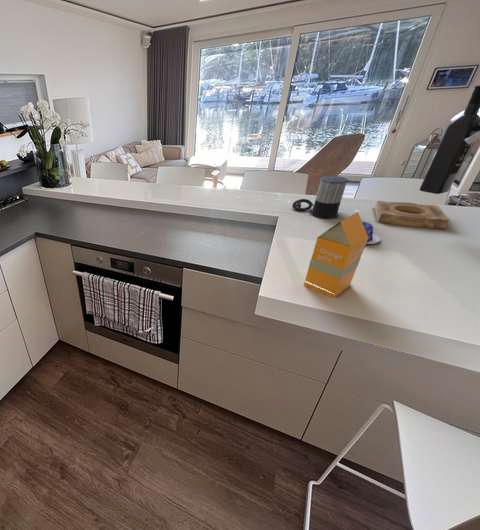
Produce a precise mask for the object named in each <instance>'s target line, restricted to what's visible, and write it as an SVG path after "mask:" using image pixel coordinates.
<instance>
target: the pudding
mask: <svg viewBox="0 0 480 530" xmlns="http://www.w3.org/2000/svg"><path fill="white" fill-rule="evenodd" d="M362 223H363V226H364V228H365V230H366V233H367V235H368V240H367V243H366V245H371V244H372V245H373V244H377V243H380V241H381V238H380V236H378V235H377V234H375V233H374V226H373V224H371V223H370V222H366V221H362Z"/></svg>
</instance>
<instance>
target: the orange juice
mask: <svg viewBox="0 0 480 530" xmlns="http://www.w3.org/2000/svg"><path fill="white" fill-rule="evenodd" d="M362 222H363V221H362V218H361V216H360V214H359V212H355V213H353V214H352V215H350V216H348V217H346V218H344V219H342V220H340V221H339V222H337V223H336V224H334V225H333V226H332V227H330V228H329V229H328V230H326V231H325V232H323V233H322V234H320V235H319V236H317V238H316V241H315V245H314V248H313V252H312V254H311V258H310V261H309V265H308V269H307V272H306V276H305V279H304V282H303V286H304V287H306V288H309V289H311V288H312V289H311V290H314V291H316V292H319V293H321V294H323V295H325V296H328V297H330V298H332V299H334V298H336V297H337V296H338V295H340V294H341V293H342V292H344V291H345V290H346V289H348V288H349V287H350V286H351V284H352V282H353V279H354V277H355V273H356V271H357V268H358V266H359V264H360V262H361V258H362V255H363V253H364V251H365V248H366V245H367V244H366V243H367V240H368V235H367V233H366V230H365V228H364V226H363V223H362ZM305 280H306V281H308V282H310V283H312V284H315V285H317V286H319V287H321V288H324V289H326V290H328V291H330V292H332V293H334V294H335V295H334V294H332V293H329V292H327V291H325V290H322V289H320V288H317V287H315V286H313V285H310V284H308V283H305Z"/></svg>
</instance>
